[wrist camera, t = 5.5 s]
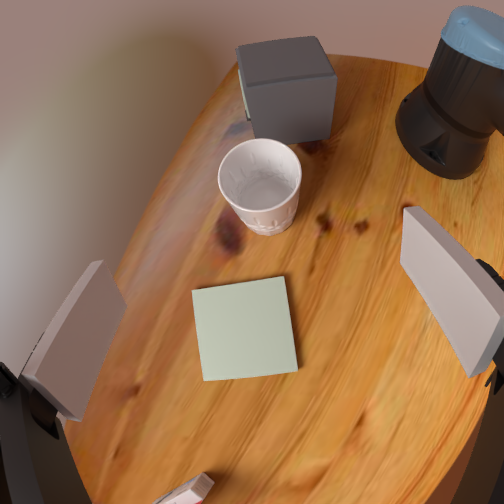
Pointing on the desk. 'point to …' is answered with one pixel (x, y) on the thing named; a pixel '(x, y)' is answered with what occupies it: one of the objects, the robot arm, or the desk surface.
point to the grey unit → (287, 89)
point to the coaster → (244, 330)
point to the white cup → (262, 184)
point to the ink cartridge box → (188, 491)
